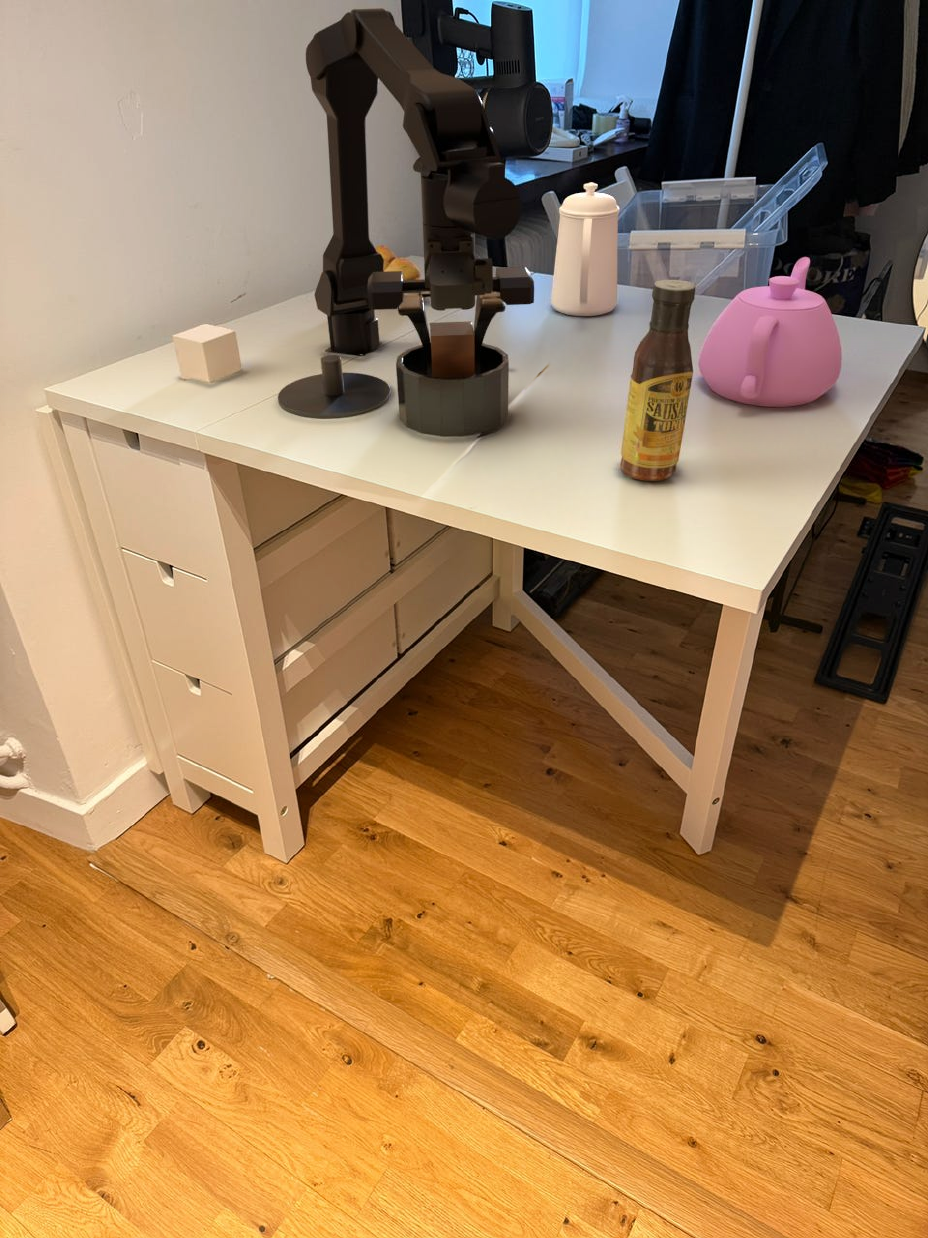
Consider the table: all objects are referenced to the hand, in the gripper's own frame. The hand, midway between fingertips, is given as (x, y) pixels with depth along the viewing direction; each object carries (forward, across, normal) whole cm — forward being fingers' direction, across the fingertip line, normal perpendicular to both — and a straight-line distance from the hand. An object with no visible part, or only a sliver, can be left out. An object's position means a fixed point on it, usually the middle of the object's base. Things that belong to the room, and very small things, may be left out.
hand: (452, 361), depth 104 cm
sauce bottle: (+7, +21, -17) cm, 28 cm away
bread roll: (+8, -8, +52) cm, 53 cm away
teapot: (+7, +42, +7) cm, 43 cm away
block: (+1, 0, 0) cm, 1 cm away
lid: (+7, -15, +7) cm, 18 cm away
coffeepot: (+7, +24, +44) cm, 51 cm away
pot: (+7, 0, 0) cm, 7 cm away
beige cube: (+7, -33, +18) cm, 39 cm away
